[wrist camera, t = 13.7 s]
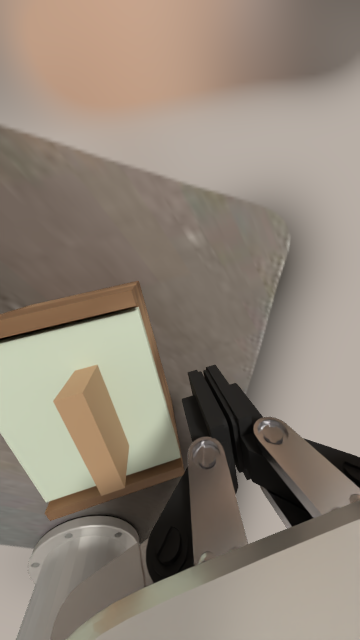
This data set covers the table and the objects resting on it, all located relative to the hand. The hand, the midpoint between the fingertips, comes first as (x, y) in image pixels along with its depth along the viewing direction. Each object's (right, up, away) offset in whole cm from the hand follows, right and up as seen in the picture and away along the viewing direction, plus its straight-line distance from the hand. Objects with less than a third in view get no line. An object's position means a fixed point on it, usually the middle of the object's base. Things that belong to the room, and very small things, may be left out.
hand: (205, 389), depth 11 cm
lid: (-7, -1, +1) cm, 7 cm away
